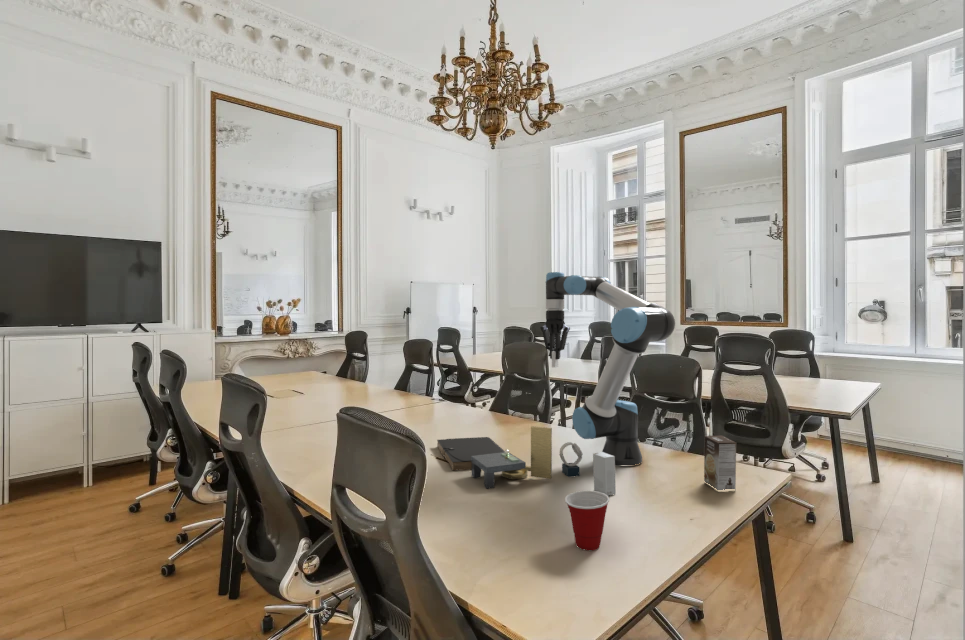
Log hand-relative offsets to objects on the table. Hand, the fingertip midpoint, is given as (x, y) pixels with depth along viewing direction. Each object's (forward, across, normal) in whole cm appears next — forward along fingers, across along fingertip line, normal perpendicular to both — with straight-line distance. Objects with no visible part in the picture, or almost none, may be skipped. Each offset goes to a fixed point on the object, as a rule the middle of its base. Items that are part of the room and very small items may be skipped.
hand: (554, 367), depth 211 cm
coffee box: (+35, -65, +7) cm, 74 cm away
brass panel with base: (+34, -9, +36) cm, 50 cm away
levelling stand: (+34, -3, +44) cm, 56 cm away
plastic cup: (+35, -49, +71) cm, 93 cm away
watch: (+35, -20, +24) cm, 47 cm away
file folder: (+35, +21, +27) cm, 49 cm away
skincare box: (+35, -37, +34) cm, 61 cm away
